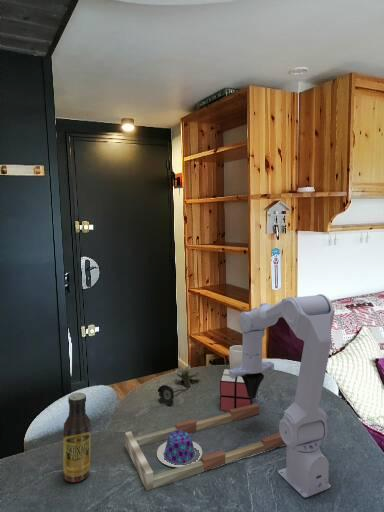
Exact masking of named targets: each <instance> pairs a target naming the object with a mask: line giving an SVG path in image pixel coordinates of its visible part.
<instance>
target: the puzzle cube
mask: <svg viewBox="0 0 384 512" xmlns="http://www.w3.org/2000/svg"><path fill="white" fill-rule="evenodd" d="M229 370H230V369H227V368H226V369H225V368H224V369H223V371H222V373H221V378H220V381H219V410H220V411H225V412H229V410H231V409H235V408H239V407H243V406H247V405H251V404H253V399H251V398H250V397H249V396H248V394H247V389H246V386H245V383H244V381H243V379H242V377H241V376H238V377H236V378H235V379H232V378H231V377H229Z"/></svg>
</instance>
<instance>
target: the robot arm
mask: <svg viewBox="0 0 384 512" xmlns="http://www.w3.org/2000/svg"><path fill="white" fill-rule="evenodd" d="M335 312H336V311H335V308H334V307H333V304H332V303H331V301H330V299H329V298H328V297H327V296H326V295H324V294H321V293H319V294H316V295H307V296H295V297H293V296H289V297H288V296H287V298H282V299H281V300H280V301H278V302H277V303H275V304H273V305H272V304H269V303H267V302H263V303H260V304H259V307H254V308H252V310H251V311H242V312H241V313H240V314H239V317H238V325H239V328H240V330H241V332H242V346H243V348H242V365H240V366H238V367H236V368H234V369H231V370H230V369H228V370H229V377H231V378H232V379H235V378H236V377H238V376H241V377H242V379H243V381H244V383H245V386H246V389H247V394H248V396H249V397H250V398H251V399H252V400H253V399H255V398H256V396H257V393H258V390H259V387H260V385H261V383H262V382H263V380H264V379H265V376H264V375H265V374H263V372H265V371H274V370H275V363H274V362H272V361H263V339H264V337H265V335H266V333H265V332H266V329H267V328H268V327H272V326H274V325H276V324H277V322H278V321H279V318H283V319H284V321H285V322H286V324H287V325H288V326H289V328H290V330H291V331H292V333H293V334H294V335H295V338H297V339H299V340H301V341H303V347H302V354H301V360H300V366H299V371H298V372H299V373H298V377H297V383H296V388H295V389H296V390H295V395H294V400H293V403H292V404H290V405H289V406H288V407H287V408H286V409H285V410H284V412H283V417H282V418H281V419H280V421H279V424H278V426H279V427H278V431H279V433H280V435H281V438H282V440H283V441H284V442H285V444H286V453H285V454H286V460H285V461H286V462H285V466H286V467H285V468H281V469H278V471H277V472H278V474H279V475H280V476H281V477H282V478H283V479H284V480H285V481H286V482H287V483H288V484H289V485H290V486H291V487H292V488H293V489H294V490H295V491H296V492H297V493H299V494H300V495H301V497H302V498H304V499H306V498H309V497H311V496H313V495H316V494H318V493H321V492H323V491H326V490H329V489H330V488H332V487H331V484H330V483H329V471H330V462H329V460H328V458H327V457H326V456H325V455H324V454H323V452H322V451H321V449H320V446H321V445H322V440H324V439H325V438H326V437H327V434H328V425H327V418H328V416H327V414H326V412H325V411H324V410H323V408H322V407H320V403H321V398H322V394H323V393H322V392H323V388H324V382H325V378H326V373H327V369H328V361H329V356H330V352H331V346H332V327H333V322H334V316H335Z"/></svg>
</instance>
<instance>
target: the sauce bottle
mask: <svg viewBox="0 0 384 512" xmlns="http://www.w3.org/2000/svg"><path fill="white" fill-rule="evenodd" d="M86 402H87V394H86V393H84V392H75V393H71V394H69V396H68V399H67V403H68V416H67V418H66V420H65V422H64V423H63V438H62V439H63V442H62V443H63V444H62V445H63V446H62V448H63V449H62V453H63V454H62V455H63V457H62V459H63V460H62V461H63V462H62V463H63V465H62V466H63V467H62V471H63V479H64V480H65V481H66V482H68V483H80V482H81V481H83V480H85V479H86V478H88V476H89V474H90V469H91V442H92V441H91V420H90V418H89V416H88V414H87V413H86V410H87V409H86Z"/></svg>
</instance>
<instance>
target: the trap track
mask: <svg viewBox="0 0 384 512" xmlns="http://www.w3.org/2000/svg"><path fill="white" fill-rule="evenodd" d="M257 414H260V405H259V404H258V403H256V402H255V403H252V404H251V405H247V406H243V407H239V408H235V409H231V410H229V411H228V413H224V414H219V415H216V416H212V417H209V418H205V419H200V420H196V419H195V418H192V419H188V420H184V421H180V422H176V423H175V424H174V427H170V428H166V429H162V430H157V431H154V432H150V433H146V434H142V435H139V436H134V435H133V434H134V433H132V430H131V431H126V432H125V433H124V439H125V441H124V442H125V448H126V450H127V453H128V455H129V457H130V459H131V461H132V463H133V466H134V468H135V470H136V469H137V470H136V471H137V474H138V475H139V477H140V480H141V482H142V484H143V486H144V488H145V490H146V491H150V490H153V489H157V488H159V487H162V486H165V485H168V484H172V483H174V482H178V481H182V480H184V479H187V478H190V477H194V476H196V475H195V474H197V475H199V473H200V474H202V473H201V472H203V473H205V472H204V471H206V472H208V471H207V470H209V469H212V468H214V467H217V466H220V465H222V464H225V463H228V462H231V461H234V460H237V459H240V458H244V457H247V456H251V455H253V454H257V453H260V452H264V451H267V450H270V449H273V448H276V447H279V446H282V445H285V442H284V441H283V440H282V438H281V435H280V432H277V433H275V434H272V435H268V436H265V437H262V438H260V442H258V443H253V444H249V445H248V446H244V447H241V448H238V449H234V450H230V451H228V452H224V450H219V451H215V452H213V453H209V454H205V455H202V456H201V458H200V460H199V461H197V462H195V463H192V464H188V465H185V466H182V467H174V468H172V469H169V470H166V471H163V472H159V473H155V474H154V471H153V469H152V467H151V465H150V464H149V461H148V460H147V458H146V457H145V456H146V455H144V453H143V450H142V449H141V448H140V447H143V446H147V445H151V444H154V443H158V442H163V441H165V440H166V441H167V440H168V437H169V435H170V434H172V433H173V432H175V431H183V432H187V433H188V434H191V433H195V432H200V431H203V430H205V429H206V430H207V429H210V428H215V427H218V426H220V425H221V426H222V425H225V424H229V423H232V422H236V421H240V420H243V418H244V419H248V418H250V416H251V417H254V415H255V416H258V415H257ZM247 417H248V418H247ZM264 453H265V452H264ZM212 470H213V469H212ZM209 471H210V470H209ZM193 475H194V476H193Z"/></svg>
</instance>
